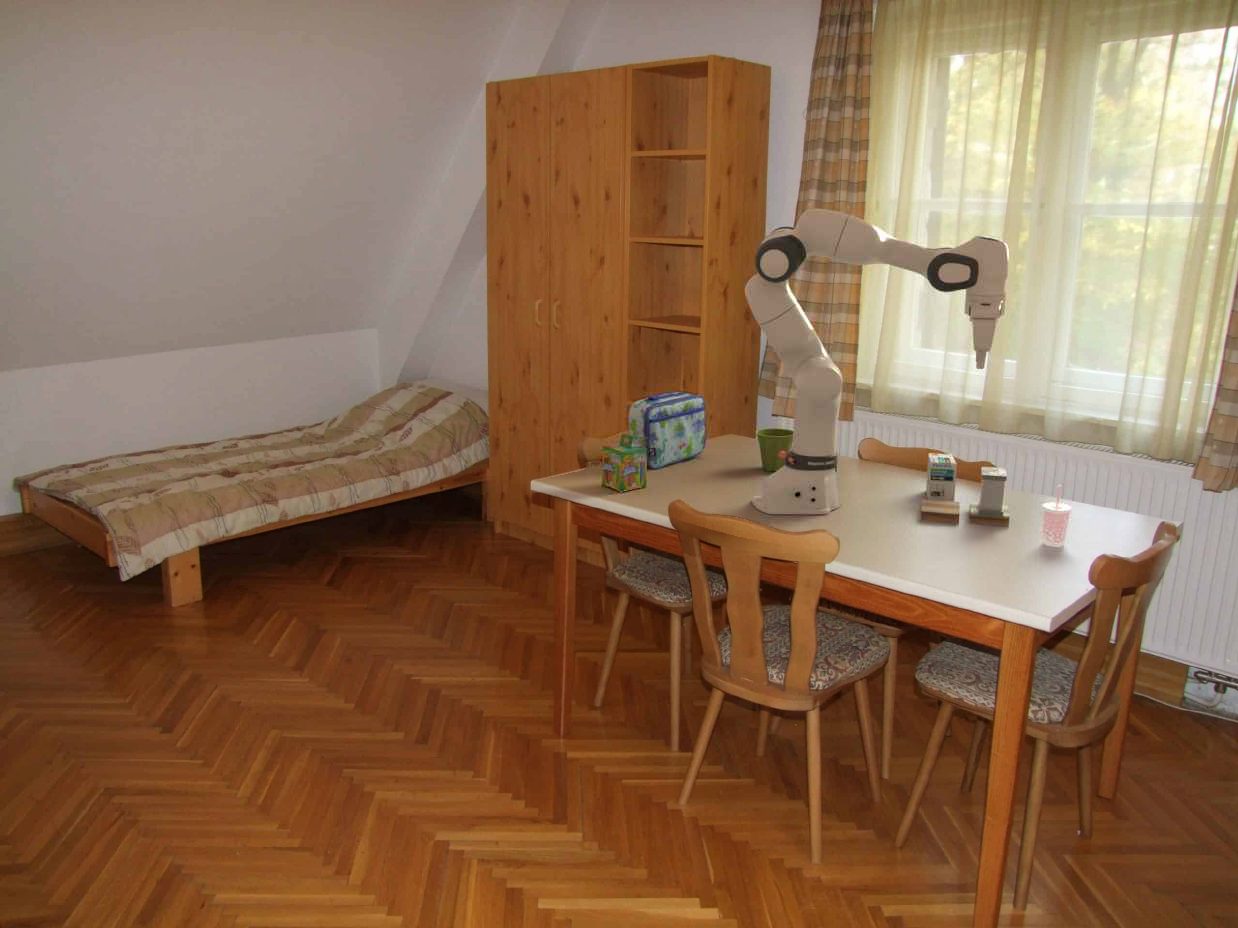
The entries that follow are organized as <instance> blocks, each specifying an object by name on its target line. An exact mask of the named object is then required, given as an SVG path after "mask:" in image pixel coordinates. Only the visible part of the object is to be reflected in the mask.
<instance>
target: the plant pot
mask: <svg viewBox="0 0 1238 928" xmlns="http://www.w3.org/2000/svg"><path fill="white" fill-rule="evenodd" d="M755 434H756V436H757V439H758V440H757V441H758V444H759V452H760V459H761V460H760V461H761V467H762V470H764V471H767V472H776V471H777V470H779V469H780V468H781V467H783V466H784V465H785V460H783V459H782V458H780V457H779V456H780V455H779V453H781V451H785V452H786V453H789V452H791V451H792V448H793V429H788V428H776V427H775V428H774V427H772V428H771V427H770V428H761V429H758V430H756V431H755Z"/></svg>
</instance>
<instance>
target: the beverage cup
mask: <svg viewBox="0 0 1238 928" xmlns="http://www.w3.org/2000/svg"><path fill="white" fill-rule="evenodd" d="M1060 493H1061V484H1058V486H1057V493H1056V502H1046V503H1043V504H1042V510H1043V518H1042V519H1043V522H1042V523H1043V524H1042V544H1044V545H1045V546H1048V547H1054V548H1061V547H1063V546H1065V541H1066V540H1065V539H1066V535H1067V530H1068V526H1069V525H1068V524H1069V519H1070V514H1071V512H1072V507H1071V505H1069V504H1065V503H1060V495H1061V494H1060Z"/></svg>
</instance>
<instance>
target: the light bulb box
mask: <svg viewBox="0 0 1238 928" xmlns="http://www.w3.org/2000/svg"><path fill="white" fill-rule="evenodd" d="M927 456H928V457H927V468H926V469H927V472H926V486H925V492H926V497H927V499H928V500H941V501H953V502H955V496H956V495H955V494H956V482H957V481H956V479H957V469H958V468H957V467H958V463H957V461H956V460H955V457H954V454H951V453H949V454H947V453H933V452H930V453H928V455H927Z"/></svg>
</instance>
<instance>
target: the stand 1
mask: <svg viewBox="0 0 1238 928" xmlns="http://www.w3.org/2000/svg"><path fill="white" fill-rule="evenodd" d="M960 510H961V507H960V501H954V502H953V501H941V500H928V498H927V499H925V498H923V499H922V505H921V514H920V522H930V523H942V524H955V525H959V524H960Z"/></svg>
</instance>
